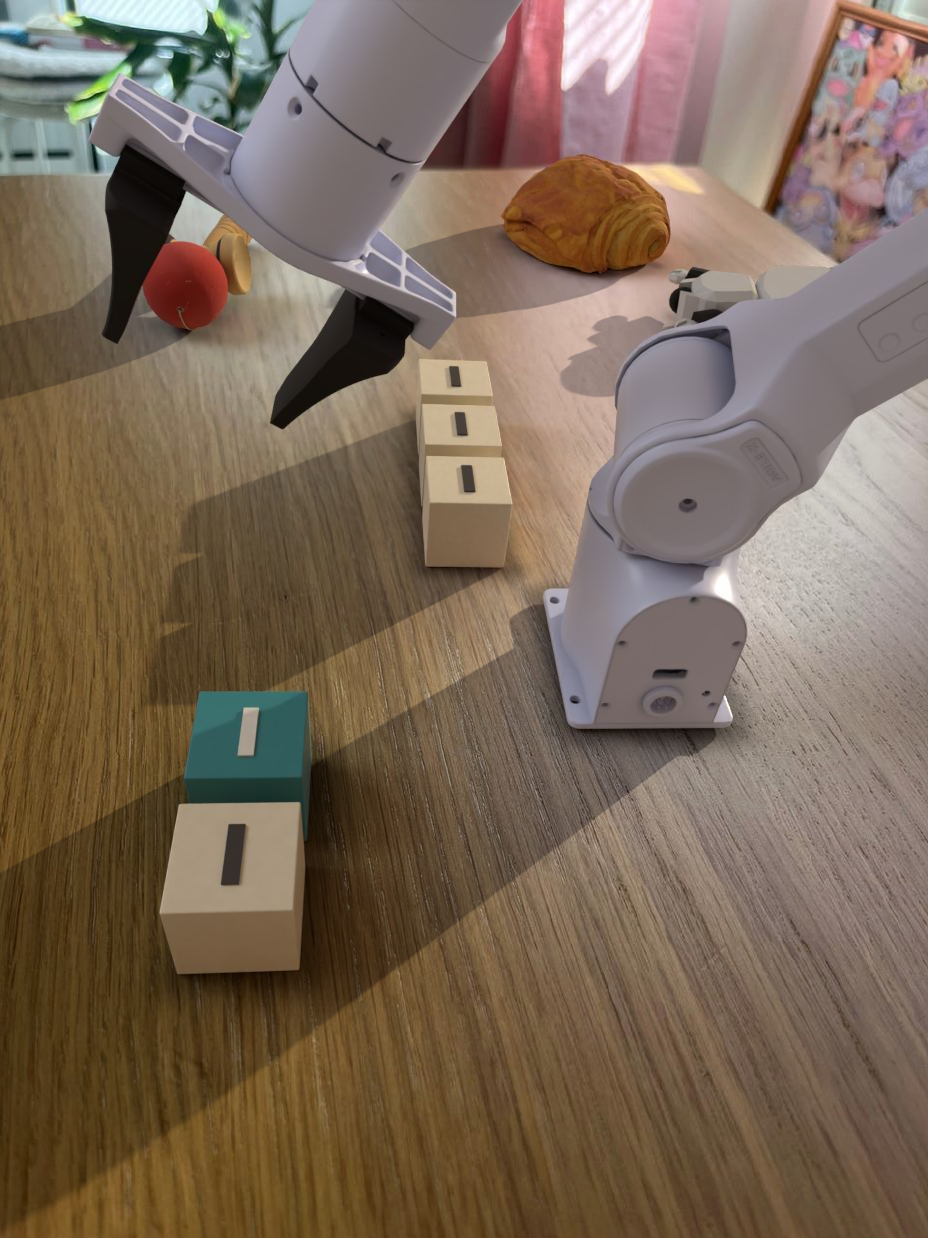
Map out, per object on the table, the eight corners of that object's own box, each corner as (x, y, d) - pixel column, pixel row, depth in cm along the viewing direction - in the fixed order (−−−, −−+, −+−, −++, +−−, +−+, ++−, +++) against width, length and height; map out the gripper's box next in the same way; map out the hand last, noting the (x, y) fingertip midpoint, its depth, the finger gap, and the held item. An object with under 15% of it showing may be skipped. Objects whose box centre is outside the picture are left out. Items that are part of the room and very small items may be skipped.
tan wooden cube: (494, 508, 56) (502, 444, 53) (421, 507, 55) (425, 442, 52) (487, 466, 59) (495, 404, 56) (418, 465, 58) (421, 401, 55)
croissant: (581, 227, 95) (588, 140, 91) (694, 262, 85) (709, 167, 81) (467, 246, 88) (469, 154, 84) (575, 287, 78) (584, 185, 74)
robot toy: (667, 368, 72) (866, 379, 71) (676, 312, 69) (884, 323, 68) (660, 300, 81) (837, 309, 80) (668, 248, 78) (852, 257, 77)
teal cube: (306, 842, 38) (302, 775, 35) (197, 844, 38) (182, 776, 35) (311, 756, 41) (307, 688, 38) (210, 757, 41) (198, 689, 38)
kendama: (184, 257, 81) (113, 322, 66) (191, 181, 77) (118, 232, 63) (272, 282, 82) (221, 352, 67) (283, 208, 78) (232, 264, 64)
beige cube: (503, 568, 52) (513, 502, 49) (425, 567, 51) (429, 501, 48) (496, 519, 55) (504, 455, 52) (422, 518, 54) (425, 453, 51)
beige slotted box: (299, 971, 34) (293, 908, 31) (176, 975, 34) (158, 912, 31) (305, 865, 37) (300, 799, 34) (193, 868, 37) (178, 801, 34)
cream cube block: (486, 456, 60) (493, 394, 57) (418, 455, 59) (421, 392, 56) (480, 420, 63) (486, 359, 60) (415, 418, 62) (418, 357, 59)
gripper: (518, 173, 38) (349, 395, 47) (186, -78, 32) (58, 233, 40) (528, 262, 34) (339, 490, 42) (142, -10, 27) (8, 325, 35)
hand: (200, 371), depth 41 cm, fingers open, 7 cm apart
